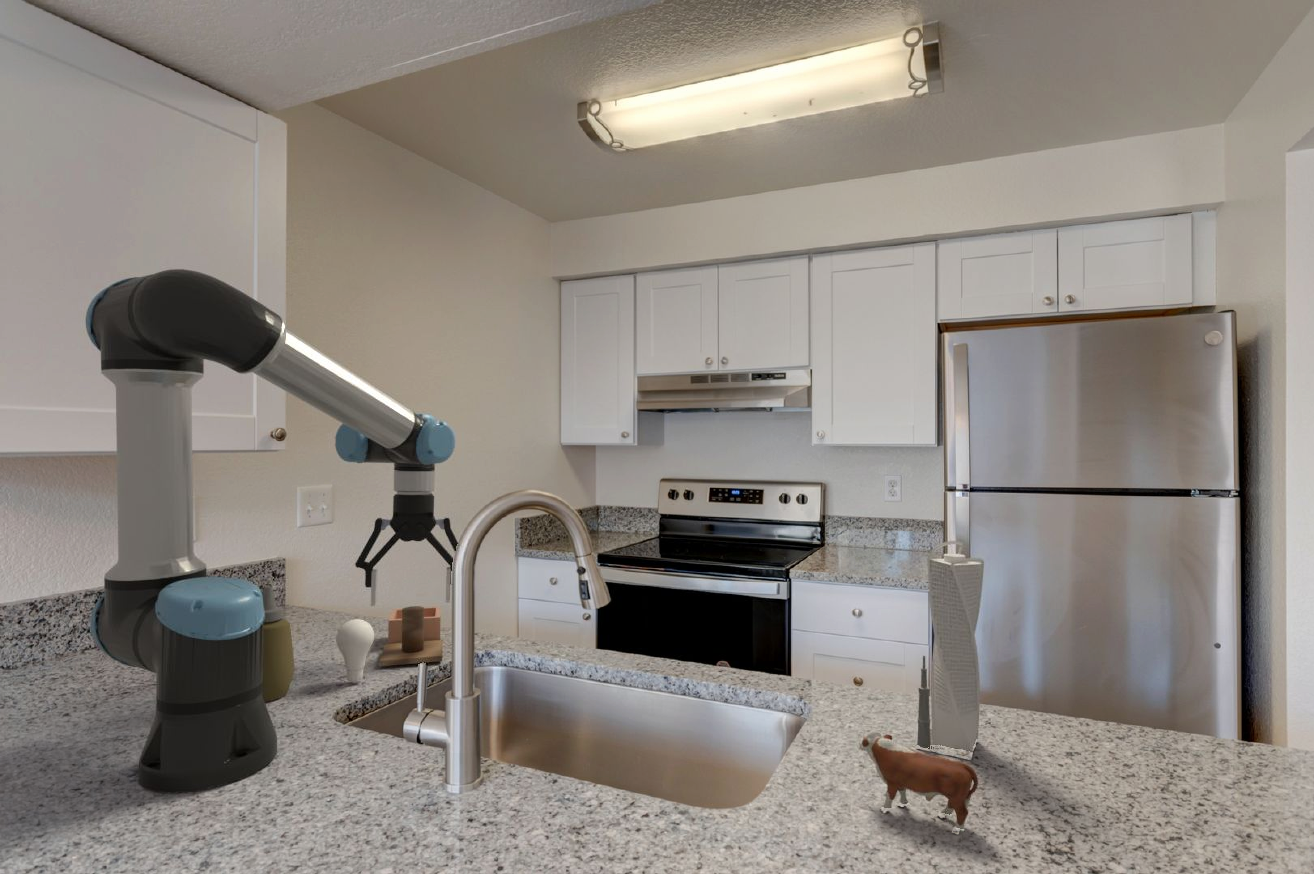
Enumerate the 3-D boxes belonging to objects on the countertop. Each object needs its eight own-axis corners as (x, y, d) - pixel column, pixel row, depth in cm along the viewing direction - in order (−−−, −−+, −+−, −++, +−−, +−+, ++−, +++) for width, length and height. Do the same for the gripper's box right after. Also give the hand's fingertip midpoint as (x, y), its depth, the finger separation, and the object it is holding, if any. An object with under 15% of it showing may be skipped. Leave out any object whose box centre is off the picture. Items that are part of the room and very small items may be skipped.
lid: (379, 666, 128) (380, 617, 128) (385, 649, 139) (385, 604, 139) (442, 660, 131) (442, 613, 132) (442, 644, 142) (442, 600, 142)
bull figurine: (863, 787, 85) (863, 720, 85) (981, 826, 76) (981, 752, 76) (848, 802, 81) (848, 732, 81) (970, 844, 73) (970, 766, 73)
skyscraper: (927, 727, 103) (927, 538, 103) (987, 739, 99) (987, 542, 99) (916, 748, 96) (916, 545, 96) (980, 762, 91) (980, 549, 92)
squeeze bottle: (251, 709, 109) (252, 594, 109) (229, 698, 114) (230, 588, 114) (303, 695, 115) (304, 586, 115) (281, 684, 120) (281, 580, 120)
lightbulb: (335, 679, 123) (336, 617, 123) (373, 675, 125) (373, 613, 125) (335, 691, 117) (336, 625, 117) (374, 685, 120) (375, 621, 120)
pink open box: (388, 650, 140) (388, 620, 140) (392, 637, 149) (392, 609, 150) (440, 646, 143) (440, 617, 143) (440, 633, 152) (440, 606, 152)
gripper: (479, 492, 143) (476, 596, 142) (347, 492, 135) (344, 601, 135) (480, 494, 135) (478, 603, 135) (341, 494, 128) (338, 609, 128)
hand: (411, 602), depth 135 cm, fingers open, 13 cm apart
